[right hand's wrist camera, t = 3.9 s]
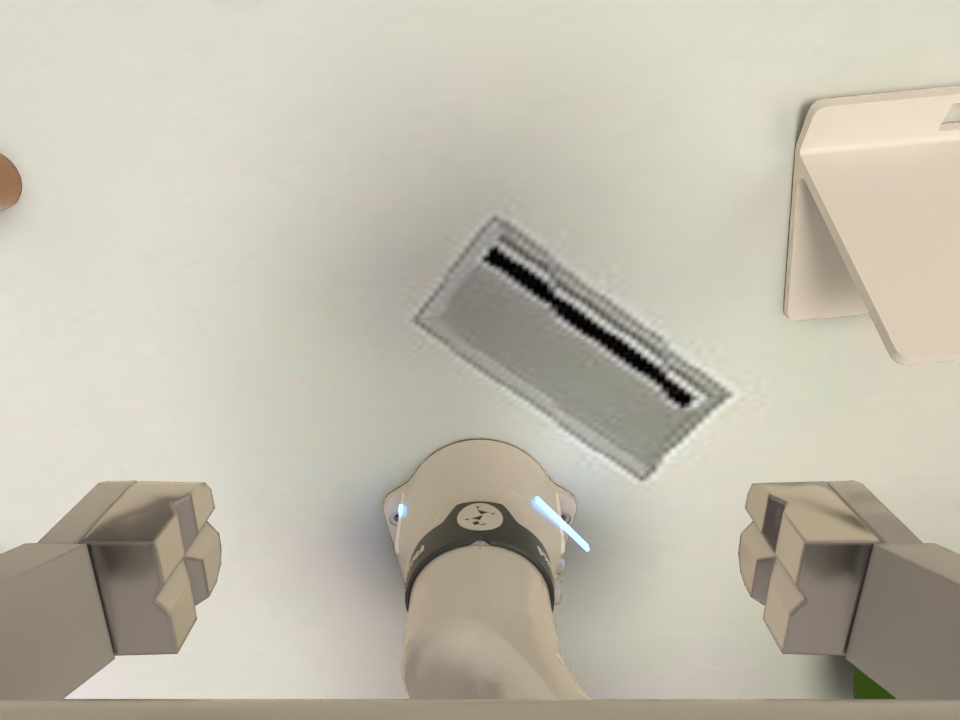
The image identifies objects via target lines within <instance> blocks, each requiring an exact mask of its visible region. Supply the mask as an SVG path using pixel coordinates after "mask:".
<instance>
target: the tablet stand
mask: <svg viewBox="0 0 960 720" xmlns="http://www.w3.org/2000/svg"><path fill="white" fill-rule="evenodd" d="M957 103H960V86H950V87H940V88H929V89H919V90H909V91H899V92H888V93H878V94H868V95H857V96H847V97H837V98H826V99H820V100H818V101H816V102H815V103H813V104H812V105H811V107H810V108H809V111H808V114H807V116H806V119H805V122H804V125H803V127H802V130H801V133H800V136H799V138H798V141H797V144H796V148H795V162H794V176H793V190H792V204H791V218H790V231H789V245H788V259H787V273H786V287H785V301H784V313H785V315H786V316H787V317H789V318H790V319H792V320H808V319H820V318H831V317H843V316H854V315H866V314H870V316H871V318H872V320H873V322H874V324H875V326H876V328H877V331H878V333H879V335H880V337H881V339H882V341H883V343H884V345H885V347H886V349H887V351H888V353H889V355H890V357H891V358H892V359H893V360H894V361H895V362H897V363H899V364H901V365H916V364H928V363H940V362H952V361H960V122H955V123H945V124H941V123H942V122H943V120H944V118H945V116H946V115H947V113H948V111H949V110H950V108H951V107H952V106H953V105H954V104H957Z"/></svg>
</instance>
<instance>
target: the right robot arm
mask: <svg viewBox="0 0 960 720" xmlns="http://www.w3.org/2000/svg"><path fill="white" fill-rule="evenodd" d="M214 509H215V506H214V501H213V496H212V491H211V488H210V487H209V486H208V485H207V484H206V483H205V482H156V481H140V482H138V481H106V482H101V483H98V484H97V485H96V486H95V487H94V488H93V489H92V490H91V491H90V492H89V493H88V494H87V495H86V496H85V497H84V498H83V499H82V500H81V501H80V502H79V503H78V504H77V505H76V506H75V507H74V508H73V509H71V510H70V511H69V512H68V513H67V514H66V515H65V516H64V517H63V518H62V519H61V520H60V521H59V522H58V523H57V524H56V525H55V526H54V527H53V528H52V529H51V530H50V531H49V532H48V533H47V534H46V535H45V536H44V537H43V538H42V539H41V540H40V541H39V542H38V543H29V544H23V545H21V546H19V547H16V548H14V549H12V550H9V551H7V552H5V553H3V554H0V720H960V554H957V553H955V552H953V551H951V550H948V549H946V548H944V547H941V546H939V545H937V544H931V543H922V542H921V541H920V540H919V539H918V538H917V537H916V536H915V535H914V534H913V533H912V532H911V531H910V530H909V529H908V528H907V527H906V526H905V525H904V524H903V523H902V522H901V521H900V520H899V519H898V518H897V517H896V516H895V515H894V514H893V513H892V512H891V511H890V510H889V509H888V508H887V507H886V506H885V505H884V504H883V503H881V502H880V501H879V500H878V499H877V498H876V497H875V496H874V495H873V494H872V493H871V492H870V491H869V490H868V489H867V488H866V487H865V486H864V485H863V484H862V483H859V482H856V481H853V480H851V481H826V482H786V483H756V484H752V485H751V487H750V489H749V492H748V494H747V500H746V505H745V509H746V510H747V512H748V514H749V515H750V517H751V518H752V520H753V521H752V522H751V523H750V525H749V526H748V527H747V528H746V529H745V530H744V531H743V532H742V533H741V536H740V544H739V552H738V553H739V564H740V572H741V575H742V579H743V582H744V585H745V587H746V589H747V590H748V592H749V594H750V596H751V597H752V598H754V599H755V600H757V601H758V602H760V603H761V604H763V605H764V606H765V610H764V616H763V620H764V622H765V623H766V625H767V627H768V629H769V630H770V632H771V634H772V636H773V638H774V639H775V641H776V643H777V645H778V646H779V648H780V650H781V652H782V654H806V655H843V656H845V659H846V660H848V661H849V662H850V663H852V664H853V665H854V666H855V667H857V668H858V669H859V670H861V671H862V672H863V673H864V674H866V675H867V676H868V677H870V678H871V679H872V680H873V681H875V682H876V683H877V684H879V685H880V686H881V687H882V688H884V689H885V690H886V691H888V692H889V693H890V694H891V695H893V696H894V697H895V698H896V699H591V698H590V697H589V696H588V695H587V694H586V693H585V691H584V690H583V689H582V688H581V687H580V685H579V684H578V683H577V682H576V680H575V679H574V677H573V676H572V674H571V673H570V671H569V669H568V668H567V666H566V664H565V662H564V659H563V656H562V653H561V649H560V646H559V642H558V638H557V634H556V630H555V625H554V620H553V615H552V612H553V609H554V604H556V605H557V604H559V603H560V600H561V595H562V582H561V580H559V579H557V575H558V574H563V573H564V569H565V560H564V559H562V558H563V555H564V552H565V548H566V545H567V541H568V538H569V535H570V536H571V537H572V538H573V539H574V540H575V541H576V542H577V543H578V544H579V545H580V546H581V547H582V548H584V549H585V550H586V551H587V552H588V551H589V550H590V549H589V545H588V544H587V543H586V542H585V541H584V540H583V539H582V538H581V537H580V536H579V535H578V534H577V533H576V532H575V531H574V530H573V529H572V528H571V527H572V524H573V520H574V517H575V514H576V509H577V508H576V500H575V498H574V497H573V495H571V494H570V493H569V492H567V491H566V490H564V489H563V488H561V487H559V486H557V485H555V484H554V483H553V482H552V481H551V480H550V479H549V478H548V476H547V475H546V473H545V472H544V471H543V469H542V468H541V467H540V465H539V464H538V463H537V462H536V461H535V460H534V459H533V458H531V457H530V456H529V455H528V454H526V453H525V452H523V451H521V450H520V449H518V448H516V447H513V446H511V445H508V444H505V443H502V442H498V441H492V440H468V441H462V442H458V443H455V444H452V445H449V446H447V447H444V448H442V449H441V450H439V451H437V452H435V453H434V454H432V455H431V456H430V457H429V458H427V459H426V460H425V461H424V462H423V463H422V464H421V465H420V467H419V468H418V469H417V471H416V472H415V473H414V475H413V476H412V478H411V479H410V480H409V481H408V482H407V483H406V484H405V485H403V486H401V487H399V488H398V489H396V490H394V491H393V492H391V493H390V494H389V495H388V496H387V497H386V498H385V500H384V514H385V517H386V520H387V524H388V527H389V531H390V534H391V538H392V541H393V544H394V548H395V552H396V555H397V558H398V562H399V565H400V568H401V572H402V575H403V579H404V582H405V589H406V592H405V602H406V609H407V612H408V616H407V623H406V630H405V637H404V644H403V652H402V659H401V675H402V681H403V685H404V688H405V691H406V694H407V696H408V698H409V699H64V698H65V697H66V696H68V695H69V694H70V693H71V692H73V691H74V690H75V689H77V688H78V687H79V686H80V685H82V684H83V683H84V682H86V681H87V680H88V679H89V678H91V677H92V676H93V675H95V674H96V673H97V672H98V671H100V670H101V669H102V668H104V667H105V666H106V665H107V664H109V663H110V662H111V661H113V660H114V659H115V656H117V655H152V654H178V652H179V650H180V648H181V647H182V645H183V643H184V641H185V639H186V638H187V636H188V634H189V632H190V630H191V629H192V627H193V625H194V623H195V622H196V620H197V616H196V610H195V606H196V605H197V604H199V603H200V602H202V601H203V600H205V599H206V598H208V597H209V596H210V594H211V592H212V590H213V588H214V587H215V585H216V583H217V579H218V574H219V570H220V566H221V542H220V536H219V533H218V532H217V531H216V530H215V529H214V528H213V527H212V526H211V525H210V523H209V522H208V521H207V520H208V518H209V517H210V515H211V514H212V512H213V510H214ZM396 514H399V517H396V516H395V515H396ZM561 514H564V515H565V516H564V517H561Z"/></svg>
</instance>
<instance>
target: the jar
mask: <svg viewBox="0 0 960 720" xmlns="http://www.w3.org/2000/svg"><path fill="white" fill-rule="evenodd" d="M20 194H21V179H20V176H19V174H18V171H17V170H16V168H15V167H14V165H13V164H12V163H11V162H10V161H9V160H8V159H7V158H6V157H5V156H3V155H1V154H0V210H2V209H6V208H9V207H11V206H12V205H14V204H15V203H16V202H17V200H18V199H19V197H20Z"/></svg>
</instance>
